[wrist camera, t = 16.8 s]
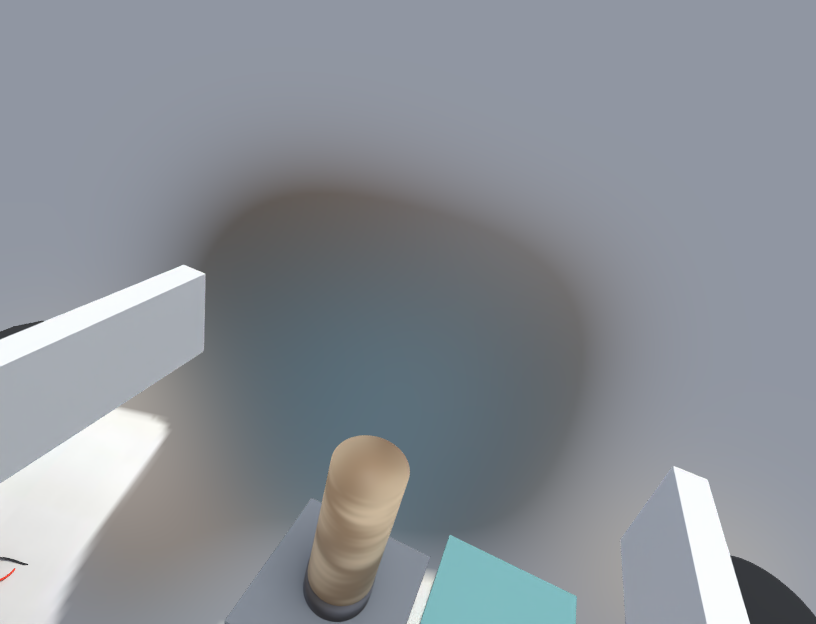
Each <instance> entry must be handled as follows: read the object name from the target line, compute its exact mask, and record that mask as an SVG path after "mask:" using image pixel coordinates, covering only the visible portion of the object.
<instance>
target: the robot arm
mask: <svg viewBox="0 0 816 624" xmlns="http://www.w3.org/2000/svg"><path fill="white" fill-rule="evenodd" d="M204 316H205V273H202V272H200V271H197V270H195V269H193V268H190V267H188V266H185V265H182V266H180V267H178V268H175V269H172V270H170V271H167V272H165V273H162V274H160V275H158V276H155V277H153V278H150V279H148V280H145V281H143V282H141V283H138V284H136V285H133V286H131V287H128V288H126V289H123V290H121V291H118V292H116V293H113V294H111V295H108V296H106V297H104V298H101V299H99V300H96V301H94V302H91V303H89V304H87V305H84V306H81V307H79V308H76V309H74V310H72V311H69V312H67V313H64V314H62V315H59V316H57V317H54V318H52V319H49V320H47V321H39V322H34V323H29V324H24V325H19V326H14V327H11V328H9V329H6V330H4V331H1V332H0V483H1V482H3V481H4V480H6V479H8V478H9V477H11V476H12V475H14V474H15V473H17V472H18V471H20V470H21V469H23V468H25V467H26V466H28V465H29V464H31V463H32V462H34V461H35V460H37V459H38V458H40V457H41V456H43V455H45V454H46V453H48V452H49V451H51V450H52V449H54V448H55V447H57V446H58V445H60V444H62V443H63V442H65V441H66V440H68V439H69V438H71V437H72V436H74V435H75V434H77V433H78V432H80V431H82V430H83V429H85V428H86V427H88V426H89V425H91V424H92V423H94V422H95V421H97V420H99V419H100V418H102V417H103V416H105V415H106V414H108V413H109V412H111V411H112V410H114V409H115V408H117V407H119V406H120V405H122V404H123V403H125V402H126V401H128V400H129V399H131V398H132V397H134V396H136V395H137V394H138V393H140V392H142V391H143V390H144V389H146V388H147V387H149V386H151V385H152V384H154V383H156V382H157V381H159V380H160V379H162V378H163V377H165V376H166V375H168V374H169V373H171V372H173V371H174V370H176V369H177V368H179V367H180V366H182V365H183V364H185V363H186V362H188V361H189V360H191V359H193V358H194V357H196V356H197V355H199V354H200V353H202V352H203V351H204V318H205V317H204ZM621 554H622V555H621V556H622V571H623V589H624V606H625V623H626V624H750V622H749V618H748V615H747V612H746V608H745V605H744V602H743V598H742V595H741V591H740V588H739V585H738V581H737V578H736V574H735V571H734V568H733V564H732V561H731V558H730V554H729V551H728V547H727V544H726V541H725V537H724V534H723V530H722V527H721V524H720V520H719V517H718V514H717V510H716V507H715V503H714V500H713V497H712V493H711V490H710V487H709V483H708V480H707V479H704V478H702V477H699V476H697V475H694V474H692V473H690V472H687V471H685V470H682V469H680V468H677V467H675V466H673V467H672V468H671V469H670V471H669V472H668V474H667V475H666V476H665V478H664V479H663V481H662V482H661V483H660V485H659V486H658V488H657V489H656V490H655V492H654V493H653V495H652V496H651V497H650V499H649V500H648V502H647V503H646V504H645V506H644V507H643V508H642V510H641V511H640V513H639V514H638V516H637V517H636V518H635V520H634V521H633V522H632V524H631V525H630V527H629V528H628V529H627V531H626V532H625V534H624V535H623V536H622V538H621Z"/></svg>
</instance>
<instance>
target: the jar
mask: <svg viewBox="0 0 816 624" xmlns="http://www.w3.org/2000/svg"><path fill="white" fill-rule="evenodd" d="M730 558H731V561H732V564H733V568H734V571H735V574H736V578H737V581H738V585H739V588H740V591H741V595H742V598H743V602H744V605H745V608H746V612H747V615H748V618H749V622H750V624H816V617H815V615H814V614H813V613H812V612H811V610H810V609H809V608H808V607H807V606H806V605H805V604H804V602H803V601H802V600H801V599H800V598H799V597H798V596H797V595H796V594H795V593H794V592H793V591H791V590H790V589H789V588H788V587H787V586H786V585H784V584H783V583H782V582H781V581H780V580H778V579H777V578H776V577H774V576H773V575H772V574H770V573H768V572H767V571H765V570H764V569H762V568H760V567H759V566H757V565H755V564H753V563H751V562H749V561H746V560H744V559H741V558H738V557H735V556H731V555H730Z"/></svg>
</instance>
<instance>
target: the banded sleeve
mask: <svg viewBox="0 0 816 624" xmlns="http://www.w3.org/2000/svg"><path fill="white" fill-rule="evenodd" d="M409 474H410V469H409V464H408V461H407V459H406V457H405V455H404V454H403V453H402V451H401V450H400V449H399V448H398V447H396V446H395V445H394V444H392V443H391V442H389V441H387V440H385V439H382V438H379V437H375V436H367V435H363V436H356V437H352V438H349V439H347V440H345V441H343V442H342V443H341V444H339V445H338V446H337V448H336V449H335V451H334V452H333V455H332V458H331V463H330V467H329V472H328V477H327V481H326V486H325V491H324V495H323V500H322V505H321V509H320V514H319V518H318V523H317V528H316V532H315V537H314V542H313V546H312V551H311V556H310V558H309V561H308V564H307V568H306V573H305V578H304V583H303V593H304V597H305V600H306V603H307V605H308V606H309V608H310V609H311V610H312V611H313V612H314V613H315V614H316V615H317V616H319V617H320V618H322V619H324V620H327V621H331V622H343V621H347V620H350V619H352V618H354V617H355V616H357V615H358V614H359V613H360V612H361V611H362V610H363V609H364V608H365V606H366V605H367V603H368V600H369V598H370V595H371V592H372V589H373V586H374V583H375V577H376V573H377V570H378V567H379V564H380V561H381V558H382V556H383V553H384V550H385V547H386V544H387V541H388V538H389V535H390V532H391V529H392V526H393V523H394V520H395V517H396V515H397V511H398V508H399V506H400V503H401V500H402V497H403V494H404V491H405V488H406V485H407V482H408V479H409Z"/></svg>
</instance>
